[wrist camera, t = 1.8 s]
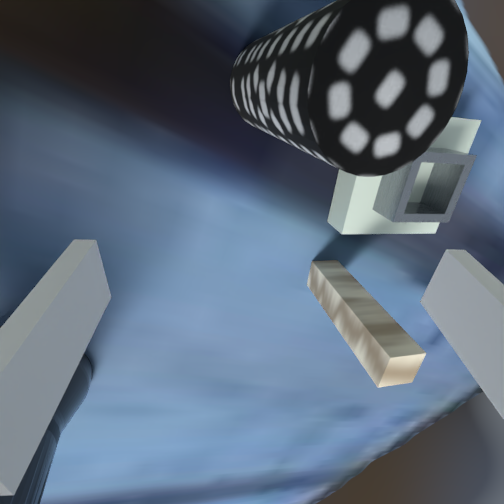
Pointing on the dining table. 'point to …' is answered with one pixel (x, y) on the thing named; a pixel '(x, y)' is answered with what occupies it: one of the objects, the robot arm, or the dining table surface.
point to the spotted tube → (357, 81)
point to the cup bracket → (436, 191)
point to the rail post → (365, 325)
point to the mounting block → (365, 188)
